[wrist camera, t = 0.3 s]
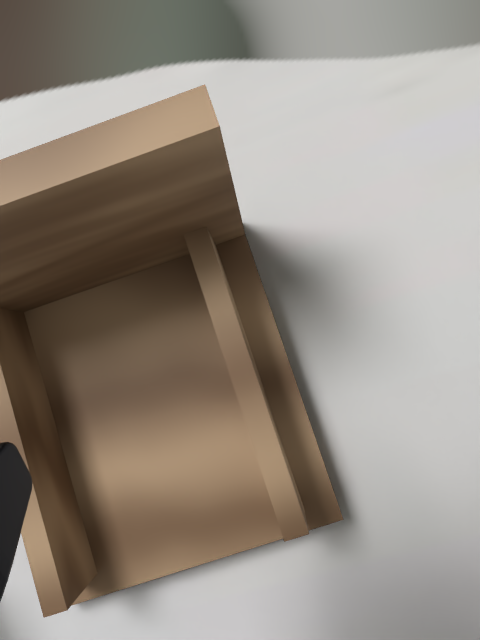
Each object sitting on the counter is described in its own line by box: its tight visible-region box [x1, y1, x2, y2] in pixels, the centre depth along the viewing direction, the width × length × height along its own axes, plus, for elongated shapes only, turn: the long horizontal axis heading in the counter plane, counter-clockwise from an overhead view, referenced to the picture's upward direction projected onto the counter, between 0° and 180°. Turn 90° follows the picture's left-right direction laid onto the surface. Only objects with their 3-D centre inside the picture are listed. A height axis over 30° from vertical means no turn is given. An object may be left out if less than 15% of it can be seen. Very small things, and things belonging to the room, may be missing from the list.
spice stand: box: [0, 85, 343, 617], centre depth 17 cm, size 15×14×12 cm
